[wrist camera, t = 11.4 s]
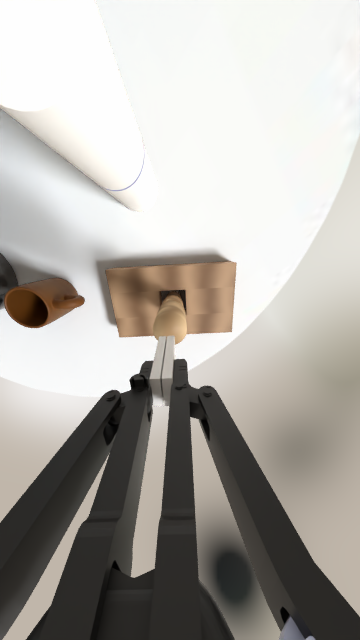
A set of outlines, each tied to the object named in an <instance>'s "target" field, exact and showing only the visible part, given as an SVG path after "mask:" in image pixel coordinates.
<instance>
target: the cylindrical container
mask: <svg viewBox="0 0 360 640" xmlns="http://www.w3.org/2000/svg"><path fill="white" fill-rule="evenodd" d="M0 108H1V109H2V110H4V111H5V112H6V113H7V114H9V115H10V116H11V117H12V118H14V119H15V120H16V121H18V122H19V123H20V124H21V125H23V126H24V127H25V128H26V129H28V130H29V131H30V132H32V133H33V134H34V135H35V136H37V137H38V138H39V139H40V140H42V141H43V142H44V143H46V144H47V145H48V146H49V147H51V148H52V149H53V150H54V151H56V152H57V153H58V154H60V155H61V156H62V157H63V158H65V159H66V160H67V161H68V162H70V163H71V164H72V165H74V166H75V167H76V168H77V169H79V170H80V171H81V172H82V173H84V174H85V175H86V176H88V177H89V178H90V179H91V180H93V181H94V182H95V183H96V184H98V185H99V186H100V187H102V188H103V189H104V190H105V191H107V192H108V193H109V194H110V195H112V196H113V197H114V198H116V199H117V200H118V201H119V202H121V203H122V204H123V205H124V206H126V207H127V208H128V209H130V210H132V211H134V212H144V211H147V210H149V209H150V208H151V207H152V206H153V205H154V203H155V201H156V199H157V194H158V185H157V181H156V178H155V175H154V172H153V169H152V166H151V163H150V160H149V157H148V154H147V151H146V148H145V145H144V142H143V139H142V136H141V133H140V130H139V128H138V125H137V122H136V119H135V116H134V113H133V110H132V107H131V104H130V101H129V98H128V95H127V92H126V90H125V87H124V84H123V81H122V78H121V75H120V72H119V69H118V66H117V63H116V60H115V57H114V54H113V51H112V48H111V45H110V42H109V39H108V36H107V33H106V30H105V27H104V24H103V21H102V18H101V15H100V12H99V9H98V6H97V3H96V0H0Z"/></svg>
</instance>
